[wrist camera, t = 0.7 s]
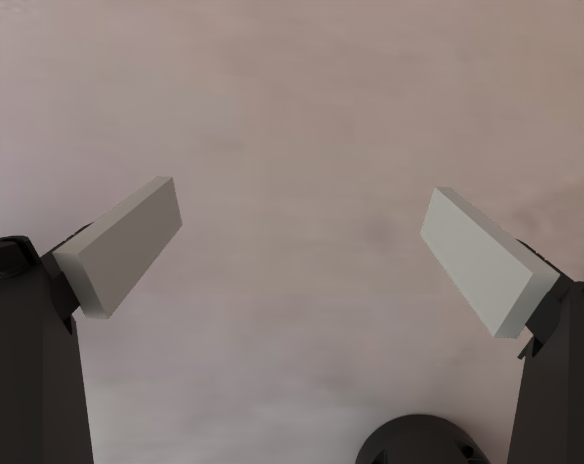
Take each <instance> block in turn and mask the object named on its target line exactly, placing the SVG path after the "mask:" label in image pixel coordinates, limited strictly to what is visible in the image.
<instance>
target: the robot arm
mask: <svg viewBox="0 0 584 464" xmlns="http://www.w3.org/2000/svg"><path fill="white" fill-rule="evenodd" d="M181 226H182V221H181V216H180V211H179V206H178V201H177V197H176V192H175V187H174V182H173V178H172V177H156V178H155V179H153V180H152V181H151V182H149V183H148V184H146V185H145V186H144V187H142V188H141V189H139V190H138V191H137V192H135V193H134V194H133V195H131V196H130V197H128V198H127V199H126V200H124V201H123V202H121V203H120V204H119V205H117V206H116V207H114V208H113V209H112V210H110V211H109V212H108V213H106V214H105V215H103V216H102V217H101V218H99V219H98V220H96V221H95V222H93V223H91V224H88V225H86V226H84V227H83V228H81V229H80V230H78V231H77V232H76V233H75V234H74V235H71V236H70V237H69V238H67V239H66V241H63V242H61V243H60V244H59V245H57V246H56V247H54V248H53V249H52V250H50V251H49V252H47V253H46V254H44V255H43V256H42V257H39V256H38V254H37V252H36V250H35V248H34V247H33V245H32V243H31V241H30V240H29V238H28V237H25V236H8V237H2V238H0V464H94V461H93V453H92V445H91V437H90V430H89V422H88V414H87V406H86V398H85V391H84V383H83V375H82V367H81V360H80V352H79V344H78V336H77V329H76V321H75V320H74V318H73V316H72V313H73V312H74V311H75V310H76V309H77V308H78V307H79V306H80V307H81V309H82V311H83V313H84V315H85V316H86V318H98V319H109V317H110V316H111V315H112V313H113V312H114V311H115V310H116V308H117V307H118V306H119V305H120V303H121V302H122V301H123V300H124V298H125V297H126V296H127V294H128V293H129V292H130V291H131V289H132V288H133V287H134V286H135V284H136V283H137V282H138V281H139V279H140V278H141V277H142V275H143V274H144V273H145V272H146V270H147V269H148V268H149V267H150V265H151V264H152V263H153V262H154V260H155V259H156V258H157V256H158V255H159V254H160V253H161V251H162V250H163V249H164V248H165V246H166V245H167V244H168V242H169V241H170V240H171V239H172V237H173V236H174V235H175V234H176V232H177V231H178V230H179V229H180V227H181ZM420 235H421V237H422V238H423V240H424V241H425V242H426V244H427V245H428V247H429V248H430V249H431V251H432V252H433V254H434V255H435V256H436V258H437V259H438V261H439V262H440V263H441V265H442V266H443V268H444V269H445V270H446V272H447V273H448V275H449V276H450V277H451V279H452V280H453V282H454V283H455V284H456V286H457V287H458V289H459V290H460V291H461V293H462V294H463V296H464V297H465V298H466V300H467V301H468V303H469V304H470V305H471V307H472V308H473V310H474V311H475V312H476V314H477V315H478V317H479V318H480V319H481V321H482V322H483V324H484V325H485V326H486V328H487V329H488V331H489V332H490V333H491V335H492V336H493V337H497V338H517V337H518V335H519V334H520V333H521V331H522V330H523V328H524V327H525V325H526V327H527V328H528V329H529V330H530V331H531V332H532V333H533V337H532V338H531V339H530V341H529V342H528V344H527V345H526V346H525V348H524V349H523V350H522V352H521V353H520V354H519V356H518V357H517V358H519V359H521V360H522V358H523V357H524V356H526V357H525V363H524V369H523V374H522V380H521V386H520V392H519V397H518V403H517V409H516V414H515V420H514V426H513V432H512V437H511V443H510V449H509V454H508V460H507V464H584V282H581V281H578V282H574V281H573V280H572V279H570V278H569V277H568V276H567V275H565V274H564V273H563V272H561V271H560V270H559V269H558V268H556V267H555V266H554V265H552V264H551V263H550V262H549V261H547V260H545V258H543V257H542V256H541V255H540V254H538V253H536V251H534V250H533V249H532V248H530V247H529V246H528V245H527V244H525V243H523V242H521V241H519V240H517V239H516V238H514V237H512V236H511V235H510V234H509V233H507V232H506V231H505V230H503V229H502V228H501V227H500V226H498V225H497V224H496V223H495V222H493V221H492V220H491V219H490V218H488V217H487V216H486V215H485V214H483V213H482V212H481V211H479V210H478V209H477V208H476V207H474V206H473V205H472V204H471V203H469V202H468V201H467V200H466V199H464V198H463V197H462V196H460V195H459V194H458V193H457V192H455V191H454V190H453V189H452V188H444V187H435V189H434V192H433V195H432V198H431V201H430V205H429V208H428V211H427V214H426V217H425V220H424V224H423V227H422V230H421V233H420ZM355 464H491V463H490V462H489V460H488V459H487V457H486V456H485V455H484V453H483V452H482V451H481V450H480V448H479V447H478V446H477V445H476V443H475V442H474V441H473V440H472V438H471V437H470V436H469V435H468V434H467V433H465V432H464V431H463V430H462V429H460V428H459V427H457V426H456V425H454V424H452V423H450V422H448V421H446V420H444V419H441V418H438V417H433V416H428V415H410V416H404V417H400V418H397V419H394V420H392V421H390V422H388V423H386V424H384V425H382V426H381V427H379V428H378V429H377V430H376V431H375V432H373V433H372V434H371V435H370V436H369V438H368V439H367V440H366V441H365V443H364V444H363V446H362V448H361V449H360V452H359V454H358V456H357V459H356V462H355Z"/></svg>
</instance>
